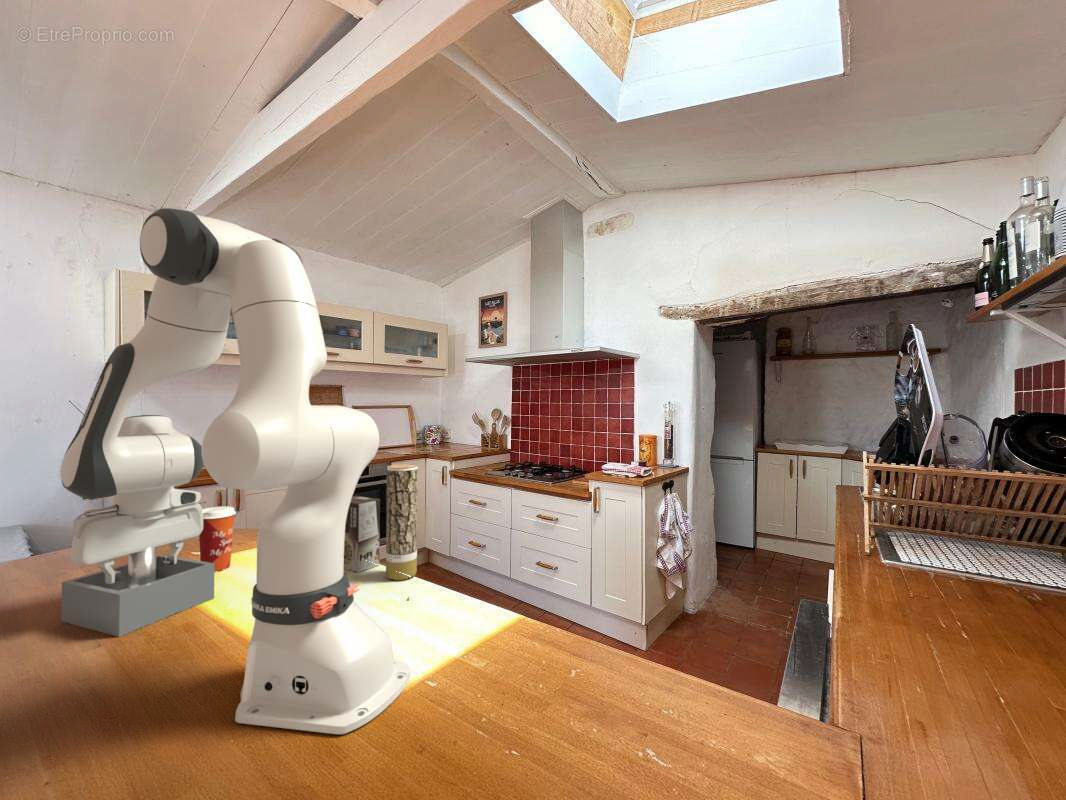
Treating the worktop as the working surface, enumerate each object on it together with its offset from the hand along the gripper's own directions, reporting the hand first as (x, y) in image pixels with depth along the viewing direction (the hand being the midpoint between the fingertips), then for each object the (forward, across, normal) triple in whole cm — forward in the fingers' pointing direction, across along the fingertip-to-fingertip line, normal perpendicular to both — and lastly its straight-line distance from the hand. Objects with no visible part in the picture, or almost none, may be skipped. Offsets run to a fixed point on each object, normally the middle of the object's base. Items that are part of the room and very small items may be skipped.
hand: (143, 573), depth 86 cm
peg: (+7, 0, 0) cm, 7 cm away
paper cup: (+7, +20, +8) cm, 23 cm away
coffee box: (+7, +33, -22) cm, 40 cm away
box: (+7, 0, 0) cm, 7 cm away
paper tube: (+7, +31, -36) cm, 48 cm away
